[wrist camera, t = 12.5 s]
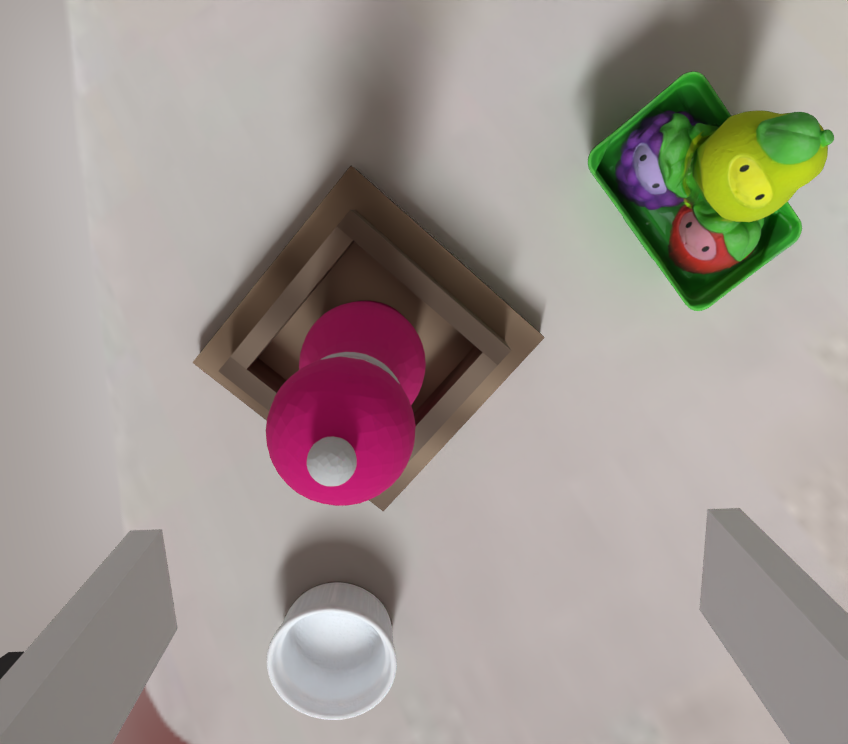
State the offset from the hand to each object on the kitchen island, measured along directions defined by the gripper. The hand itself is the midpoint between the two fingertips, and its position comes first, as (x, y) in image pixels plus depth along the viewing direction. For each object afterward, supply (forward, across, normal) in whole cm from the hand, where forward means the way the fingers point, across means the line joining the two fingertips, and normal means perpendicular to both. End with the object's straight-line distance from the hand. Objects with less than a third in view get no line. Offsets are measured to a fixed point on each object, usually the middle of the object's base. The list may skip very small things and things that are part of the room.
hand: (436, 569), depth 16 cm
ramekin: (+28, -7, -22) cm, 37 cm away
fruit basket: (+29, +16, +8) cm, 34 cm away
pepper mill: (+27, -4, 0) cm, 27 cm away
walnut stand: (+28, -4, -1) cm, 29 cm away
